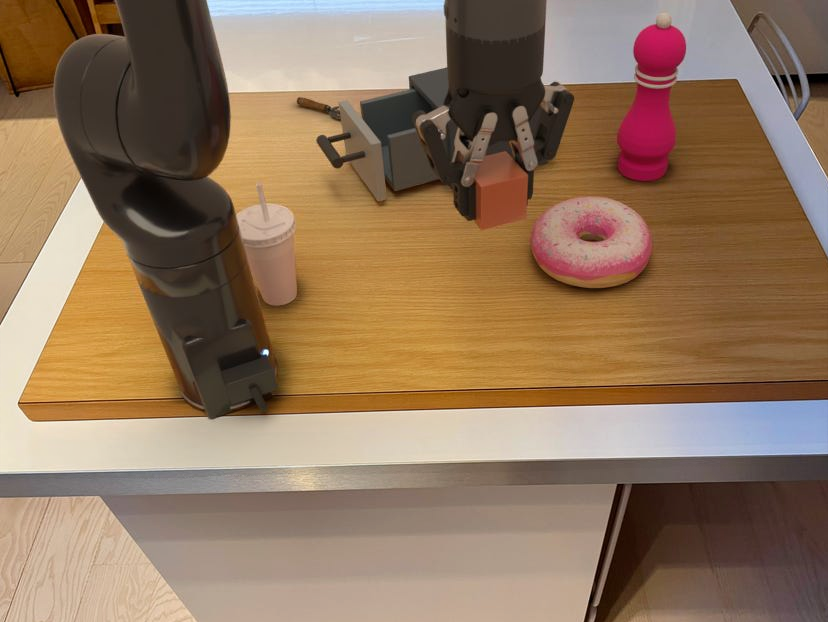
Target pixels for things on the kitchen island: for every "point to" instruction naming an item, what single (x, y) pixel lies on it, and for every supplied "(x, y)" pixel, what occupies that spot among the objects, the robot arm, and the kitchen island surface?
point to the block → (500, 191)
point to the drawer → (383, 142)
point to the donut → (591, 261)
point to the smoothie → (270, 249)
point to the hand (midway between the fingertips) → (493, 208)
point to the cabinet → (434, 92)
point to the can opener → (319, 107)
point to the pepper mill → (651, 102)
